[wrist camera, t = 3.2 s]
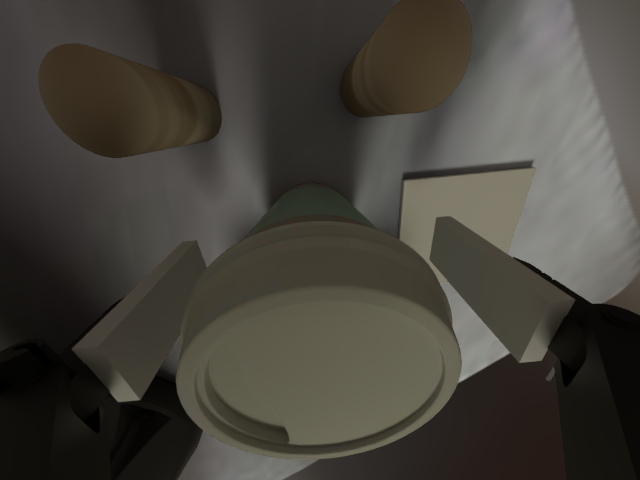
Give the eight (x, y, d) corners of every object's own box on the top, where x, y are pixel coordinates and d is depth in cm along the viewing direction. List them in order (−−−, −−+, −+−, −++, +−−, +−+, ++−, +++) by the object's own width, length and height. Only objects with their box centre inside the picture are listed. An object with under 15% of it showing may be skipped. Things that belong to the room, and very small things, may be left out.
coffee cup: (265, 143, 14) (148, 204, 4) (388, 184, 16) (562, 310, 5) (242, 257, 18) (148, 459, 7) (344, 280, 19) (394, 474, 9)
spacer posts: (241, 330, 21) (215, 416, 15) (154, 74, 12) (0, 24, 6) (386, 314, 21) (419, 393, 15) (403, 51, 13) (500, -20, 6)
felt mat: (393, 284, 20) (395, 287, 20) (402, 179, 16) (404, 181, 15) (496, 273, 20) (499, 276, 20) (531, 166, 16) (536, 167, 16)
